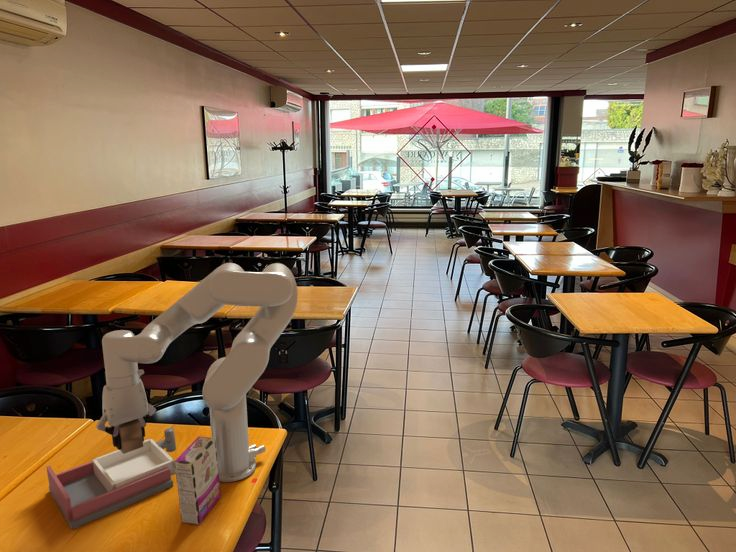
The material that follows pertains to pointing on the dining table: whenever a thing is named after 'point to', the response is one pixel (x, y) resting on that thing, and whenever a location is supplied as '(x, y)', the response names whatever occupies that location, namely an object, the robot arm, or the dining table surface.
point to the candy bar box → (197, 480)
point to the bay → (98, 493)
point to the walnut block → (130, 436)
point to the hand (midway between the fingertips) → (129, 443)
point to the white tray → (135, 462)
